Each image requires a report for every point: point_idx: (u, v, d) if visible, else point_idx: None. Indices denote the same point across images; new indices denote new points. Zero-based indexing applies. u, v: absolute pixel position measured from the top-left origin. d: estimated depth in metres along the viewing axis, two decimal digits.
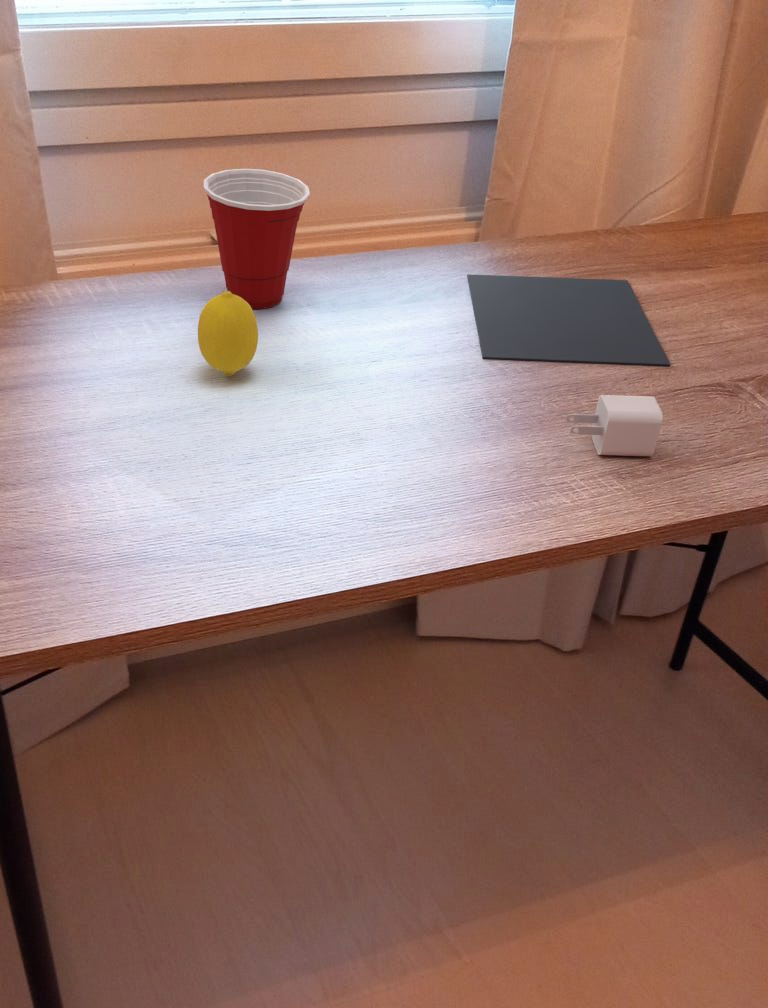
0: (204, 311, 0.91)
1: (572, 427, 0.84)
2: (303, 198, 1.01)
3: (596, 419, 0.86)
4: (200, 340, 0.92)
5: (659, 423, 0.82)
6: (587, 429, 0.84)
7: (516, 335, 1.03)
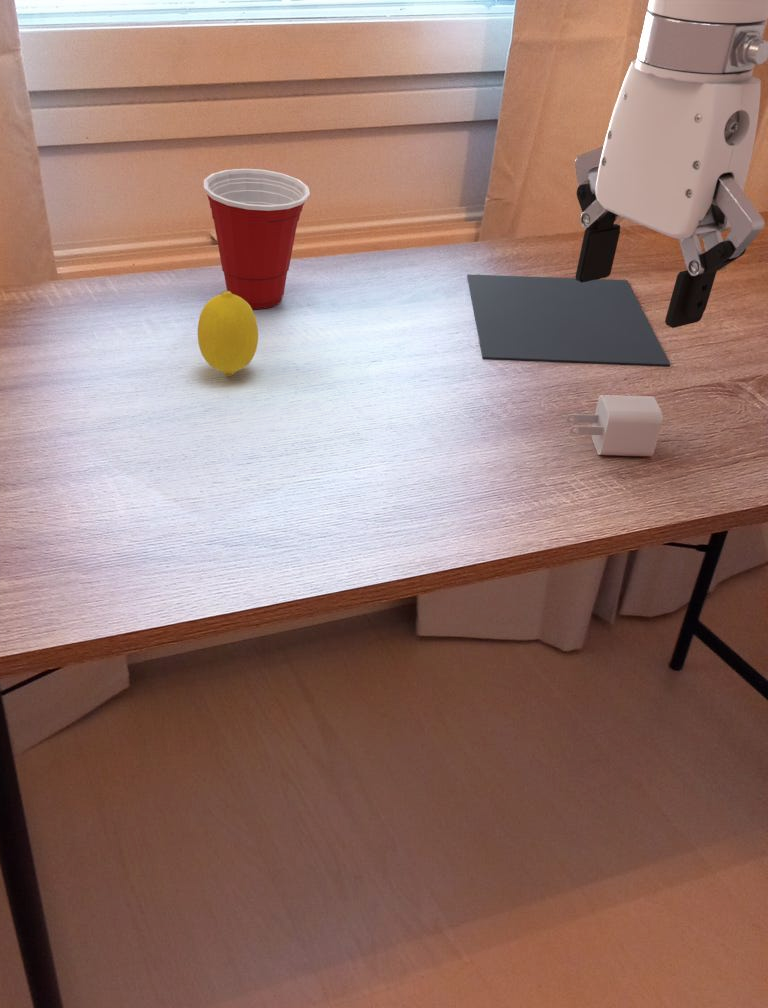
0: (204, 311, 0.91)
1: (572, 427, 0.84)
2: (303, 198, 1.01)
3: (596, 419, 0.86)
4: (200, 340, 0.92)
5: (659, 423, 0.82)
6: (587, 428, 0.84)
7: (516, 335, 1.03)
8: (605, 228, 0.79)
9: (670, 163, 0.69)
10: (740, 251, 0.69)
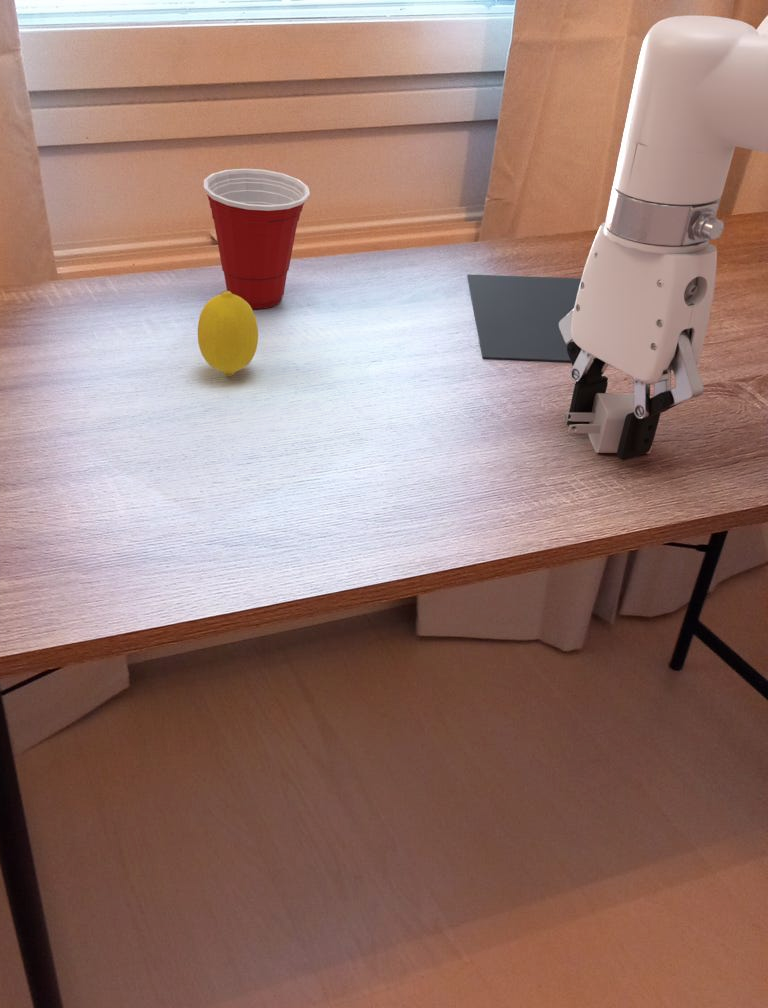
0: (204, 311, 0.91)
1: (570, 426, 0.84)
2: (303, 198, 1.01)
3: (593, 417, 0.86)
4: (200, 340, 0.92)
5: None
6: (585, 427, 0.84)
7: (516, 335, 1.03)
8: (594, 381, 0.85)
9: (636, 319, 0.76)
10: (678, 403, 0.78)
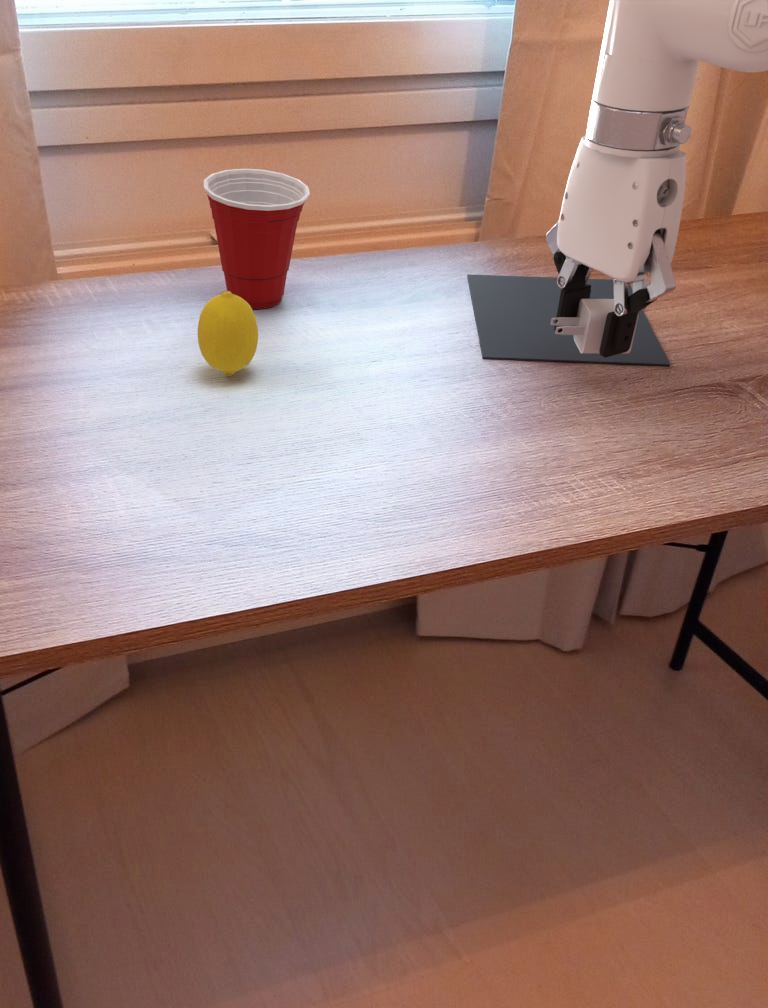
0: (204, 311, 0.91)
1: (557, 328, 0.92)
2: (303, 198, 1.01)
3: (578, 322, 0.94)
4: (200, 340, 0.92)
5: None
6: (571, 329, 0.92)
7: (516, 335, 1.03)
8: (578, 288, 0.93)
9: (615, 221, 0.84)
10: (653, 299, 0.86)
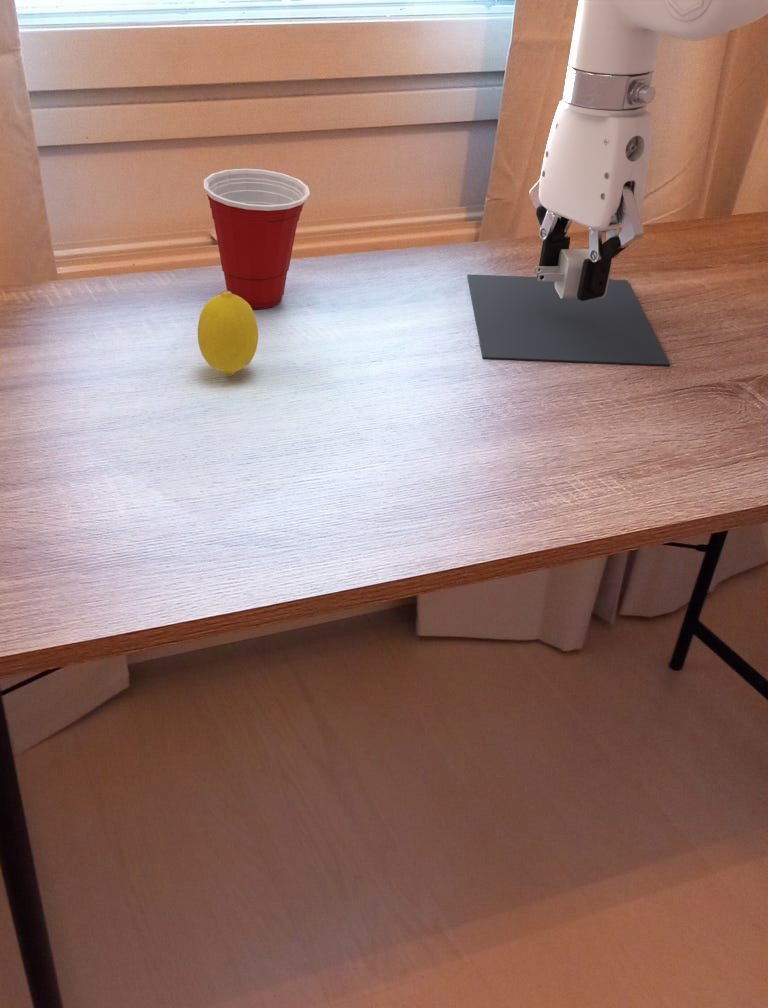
0: (204, 311, 0.91)
1: (539, 275, 1.02)
2: (303, 198, 1.01)
3: (558, 270, 1.04)
4: (200, 340, 0.92)
5: None
6: (551, 276, 1.02)
7: (516, 335, 1.03)
8: (558, 239, 1.03)
9: (589, 174, 0.94)
10: (624, 246, 0.96)
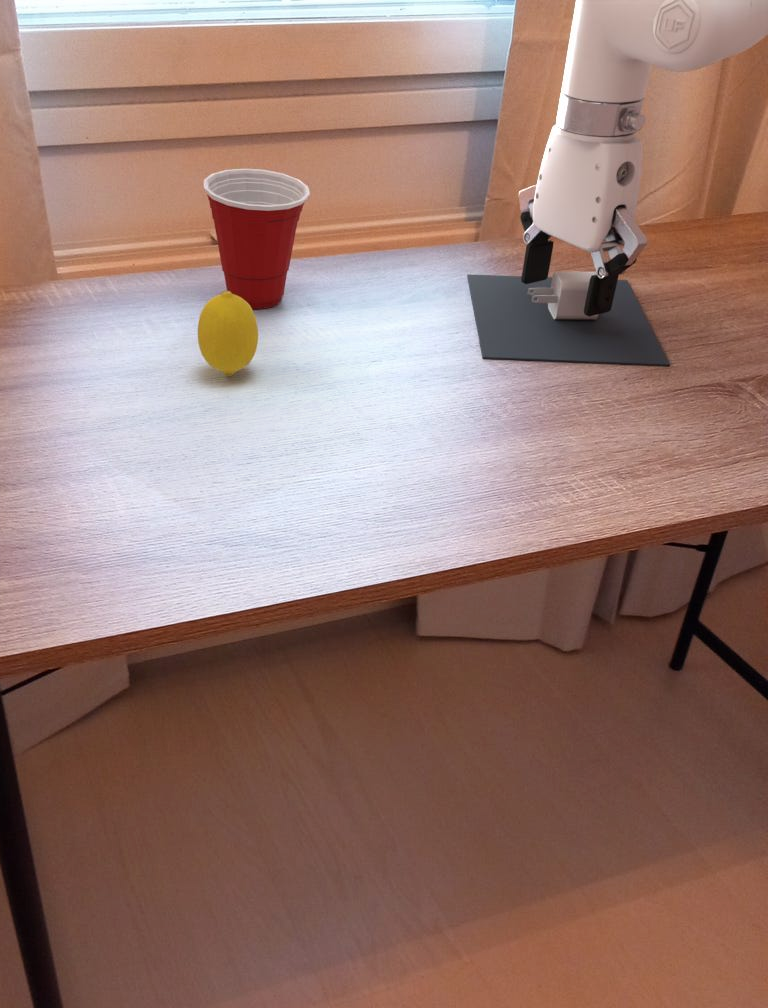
0: (204, 311, 0.91)
1: (533, 296, 1.05)
2: (303, 198, 1.01)
3: (551, 291, 1.07)
4: (200, 340, 0.92)
5: None
6: (545, 297, 1.05)
7: (516, 335, 1.03)
8: (541, 243, 1.06)
9: (581, 198, 0.97)
10: (632, 260, 0.97)
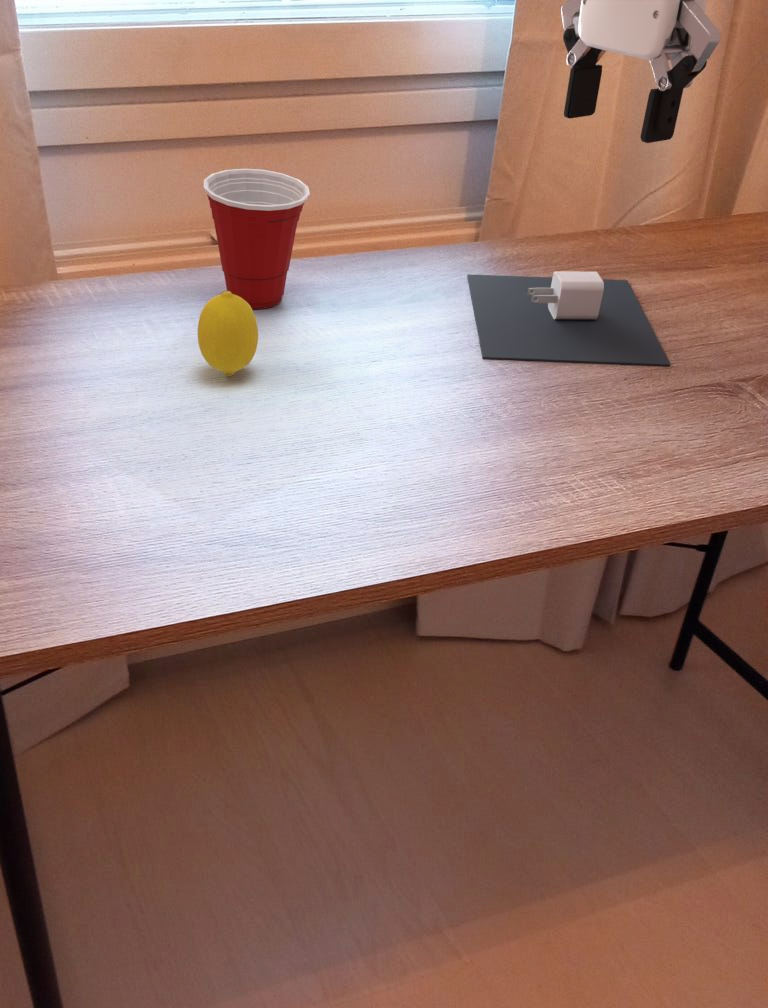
0: (204, 311, 0.91)
1: (533, 296, 1.05)
2: (303, 198, 1.01)
3: (551, 291, 1.07)
4: (200, 340, 0.92)
5: (601, 289, 1.04)
6: (545, 297, 1.05)
7: (516, 335, 1.03)
8: (588, 67, 0.90)
9: None
10: (701, 64, 0.80)
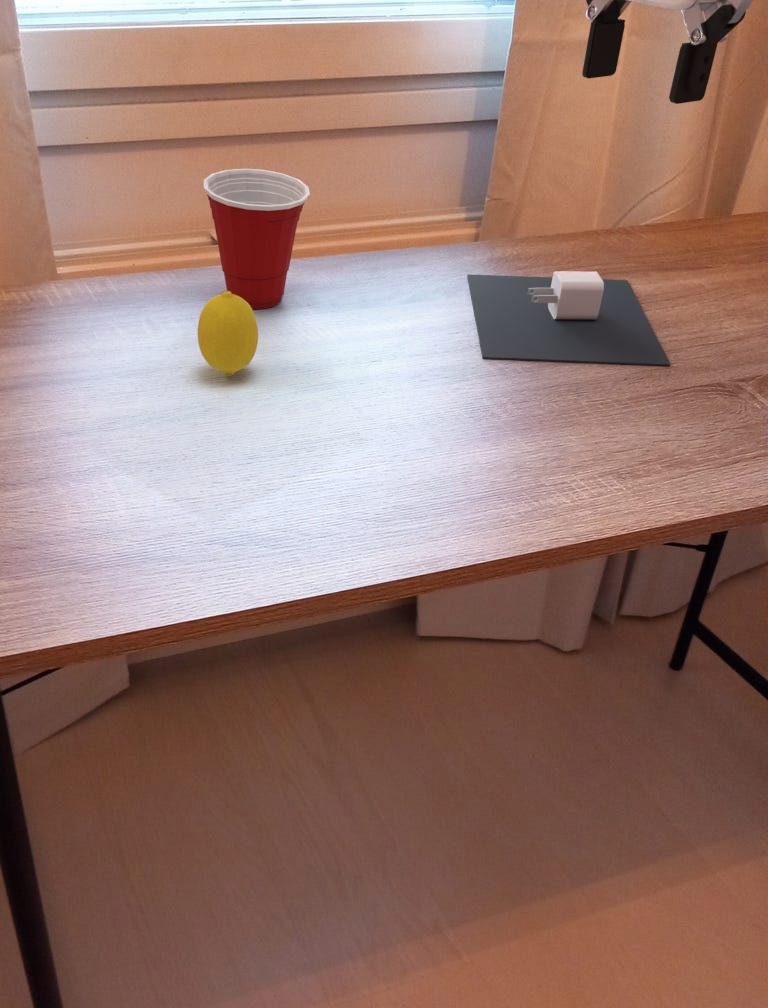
0: (204, 311, 0.91)
1: (533, 296, 1.05)
2: (303, 198, 1.01)
3: (551, 291, 1.07)
4: (200, 340, 0.92)
5: (601, 289, 1.04)
6: (545, 297, 1.05)
7: (516, 335, 1.03)
8: (610, 21, 0.82)
9: None
10: (740, 14, 0.73)
